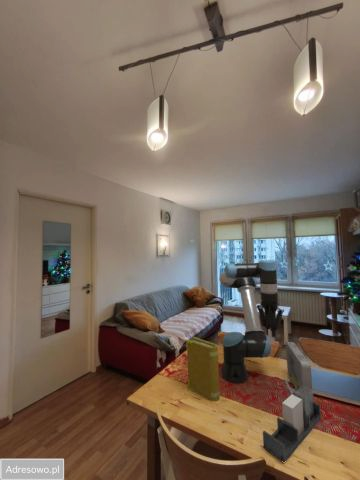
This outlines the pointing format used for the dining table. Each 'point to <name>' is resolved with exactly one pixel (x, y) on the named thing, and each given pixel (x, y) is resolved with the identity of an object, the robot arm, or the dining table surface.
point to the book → (203, 368)
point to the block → (293, 412)
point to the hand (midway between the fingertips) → (271, 343)
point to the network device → (297, 368)
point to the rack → (293, 428)
